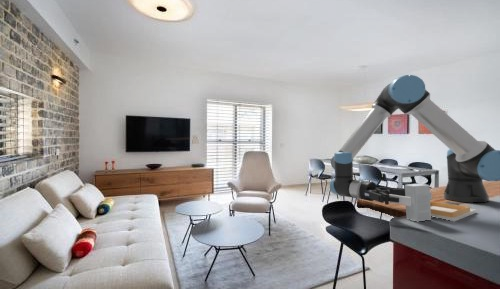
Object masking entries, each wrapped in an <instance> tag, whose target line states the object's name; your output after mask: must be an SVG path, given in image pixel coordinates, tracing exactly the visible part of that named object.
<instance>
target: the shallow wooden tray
mask: <svg viewBox="0 0 500 289" xmlns="http://www.w3.org/2000/svg"><path fill="white" fill-rule="evenodd" d="M430 206H431V216H435V217H438V218H442V219H441V220H443V219H446V220H445V221H448V220H450V221H449V222H454V223H455V222H457V221H459V220H461V219H464V218H466V217H469V216H472V215H475V214H476V213H477V209H476V208H471V207H470V206H466V205H460V202H456V201H454V202H453V201H446V202H439V201H433V200H430ZM438 218H437V219H438Z"/></svg>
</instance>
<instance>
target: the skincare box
mask: <svg viewBox="0 0 500 289" xmlns="http://www.w3.org/2000/svg"><path fill="white" fill-rule="evenodd" d="M404 188H405V196H406V197H411V206H407V205H405V210H406V211H405V213H406V215H405V217H406V219H407V218H408V219H412V220H415V221H424V220H431V221H432V217H431V206H430V201H431V200H430V192H431V191H430V185H429V184H425V183H411V184H410V183H409V184H408V183H407V184H405V185H404Z"/></svg>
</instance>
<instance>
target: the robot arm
mask: <svg viewBox="0 0 500 289" xmlns="http://www.w3.org/2000/svg"><path fill="white" fill-rule="evenodd" d="M397 110H400V111H401V112H402V113H403V114H404V115H411V116H413V118H415V120H417V121H418V122H419V123H420V124H421V125H422V126H423V127H424V128H426V129H427V131H429V132H430V133H432V135H434V137H435V138H437V139H438V140H439V141H440V142H441V143H442V144H443V145H445V146H446V147H447V148H448V150H447V152H446V161H447V162H446V164H447V184H446V186H445V188H444V192H443V198H444V199H446V200H449V201H452V202H453V201H454V202H458V203H473V202H485V203H488V202H487V201H489V202H490V196H489V194H488V191H487V190H486V188H485V187H486V186H484V184H483V181H487V182H500V150H498V149H497V150H496V149H495V148H494V147H493V146H491V145H490V144H489V143H488V142H487V141H485V140H477V139H476V138H475V137H474V136H473V135H472V134H470V133H469V132H468V131H467V130H466V129H465V128H464V127H463V126H462V125H460V124H459V123H458V122H457V121H455V120H454V119H453V118H452V117H451V116H450V115H448V114H447V113H446V112H445V111H444V110H443V109H442V108H440V106H439V105H437V104H436V103H435V102H434V101H432V100H431V93H430V92H429V91H428V90H427V89H426V83H425V81H423V79H422V78H421V77H419V76H417V75H415V74H414V75H413V74H405V75H402V76H398V77H397V78H395V79H393V80H392V81H391V82H390V83H388V84H387V85H386V86H385V87H384V88H383V89H382V90H381V91H380V93H379V95H378V96H377V98H376V99H375V101H374V102H373V103H372V105H371V110H370V111H369V112H368V114H367V115H366V116H365V117H364V118H363V120H362V121H361V122H360V124H359V125H358V126H357V128H355V130H354V131H353V132H352V133H351V135H350V136H349V138H348V139H347V140H346V141H345V143H344V144H343V145H342V146H341V148H340V149H339V150H338V151H336V152H334V153H333V154H334V156H332V158H331V160H330V165H331V167H332V169H334V178H332V179H331V180H330V183H329V190H330V192H331V193H332V194H334V195H337V196H340V197H348V198H353V199H354V198H355V199H356V200H358V201H360V200H364V201H368V202H374V201H376V202H378V203H380V204H383V203H384V204H385V205H390V203H391V204H395V205H396V204H397V205H403V206H406V205H407V206H411V197H406V196H405V187H403V188H402V187H400V188H399V187H387V186H384V187H383V186H378V185H377V184H376V183H375V182H374V181H367V180H366V181H365V180H359V179H358V180H357V179H354V168H353V167H354V166H353V165H354V164H353V161H354V159H355V157H356V156H357V155H358V153H359V152H360V151H361V150H362V149H363V147H364V146H365V145H366V144H367V142H368V141H369V140H370V139H371V137H372V136H373V134H374V133H376V132H377V130H378V129H379V127H380V126H382V124H383V122H384V121H385V120H386V119H387V118H391V116H392V115H393V114H394V113H395V112H396V111H397ZM430 201H433V192H432V191H430Z"/></svg>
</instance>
